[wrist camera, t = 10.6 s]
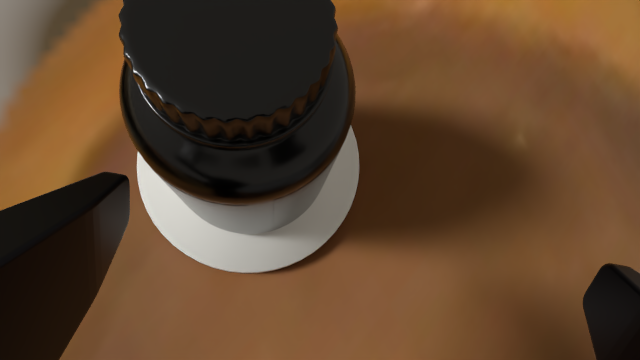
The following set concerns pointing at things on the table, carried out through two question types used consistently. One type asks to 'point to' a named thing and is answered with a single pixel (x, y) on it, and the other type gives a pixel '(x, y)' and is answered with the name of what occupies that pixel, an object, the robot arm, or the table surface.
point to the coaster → (253, 248)
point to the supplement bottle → (237, 103)
